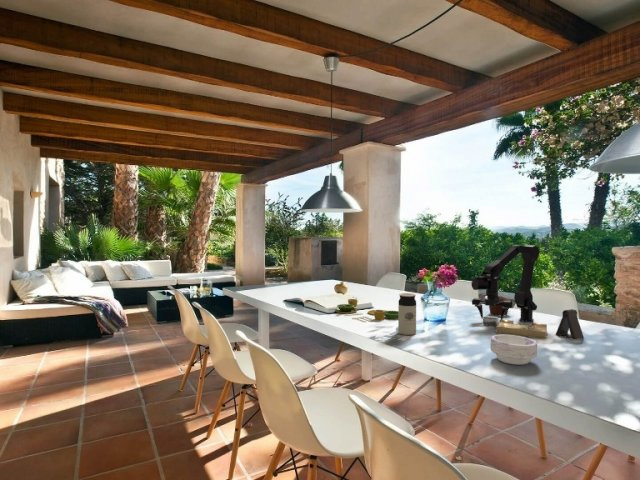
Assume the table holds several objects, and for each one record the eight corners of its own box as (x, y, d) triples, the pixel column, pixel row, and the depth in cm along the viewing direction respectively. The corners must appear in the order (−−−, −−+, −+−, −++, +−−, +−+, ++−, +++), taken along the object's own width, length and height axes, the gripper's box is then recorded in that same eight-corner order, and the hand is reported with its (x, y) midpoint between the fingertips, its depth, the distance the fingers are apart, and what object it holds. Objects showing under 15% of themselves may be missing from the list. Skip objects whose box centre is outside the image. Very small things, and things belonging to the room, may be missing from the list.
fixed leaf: (500, 326, 201) (500, 318, 200) (546, 332, 190) (546, 323, 190) (496, 332, 189) (496, 324, 188) (545, 338, 178) (545, 329, 178)
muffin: (512, 314, 233) (512, 296, 232) (506, 317, 224) (506, 298, 224) (491, 311, 240) (491, 294, 240) (484, 314, 232) (484, 296, 232)
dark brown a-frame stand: (555, 335, 185) (555, 308, 185) (563, 333, 188) (564, 307, 187) (575, 339, 177) (575, 312, 177) (583, 338, 180) (584, 311, 179)
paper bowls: (547, 365, 143) (547, 343, 142) (511, 369, 138) (511, 346, 138) (514, 353, 157) (515, 332, 157) (481, 356, 153) (481, 335, 153)
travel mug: (398, 330, 192) (398, 292, 192) (415, 331, 191) (416, 293, 190) (398, 334, 184) (398, 295, 184) (416, 335, 183) (416, 295, 182)
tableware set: (326, 310, 245) (326, 299, 245) (366, 306, 257) (366, 296, 257) (363, 324, 208) (363, 312, 208) (407, 319, 220) (407, 307, 220)
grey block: (486, 321, 213) (486, 313, 213) (498, 322, 210) (498, 315, 210) (482, 325, 205) (482, 317, 205) (495, 326, 202) (495, 318, 202)
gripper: (469, 289, 208) (469, 320, 208) (510, 292, 198) (509, 324, 198) (474, 287, 217) (473, 316, 217) (512, 290, 208) (512, 320, 208)
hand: (491, 319), depth 210 cm, fingers open, 9 cm apart
